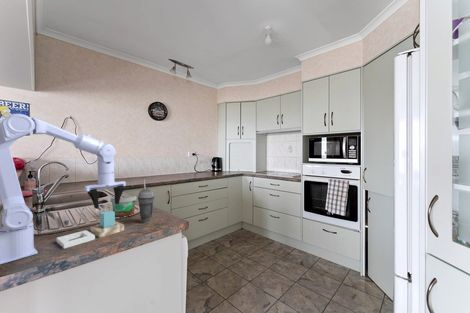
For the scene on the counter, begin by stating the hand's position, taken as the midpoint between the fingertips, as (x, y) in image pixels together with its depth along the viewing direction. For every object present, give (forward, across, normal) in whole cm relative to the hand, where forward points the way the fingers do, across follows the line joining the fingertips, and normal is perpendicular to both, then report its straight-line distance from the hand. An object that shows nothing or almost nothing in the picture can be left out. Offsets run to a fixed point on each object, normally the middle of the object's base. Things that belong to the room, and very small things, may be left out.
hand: (107, 205), depth 82 cm
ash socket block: (+11, 0, 0) cm, 11 cm away
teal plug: (+11, 0, 0) cm, 11 cm away
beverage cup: (+11, +16, -2) cm, 19 cm away
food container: (+11, +13, +15) cm, 23 cm away
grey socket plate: (+10, -11, 0) cm, 15 cm away
